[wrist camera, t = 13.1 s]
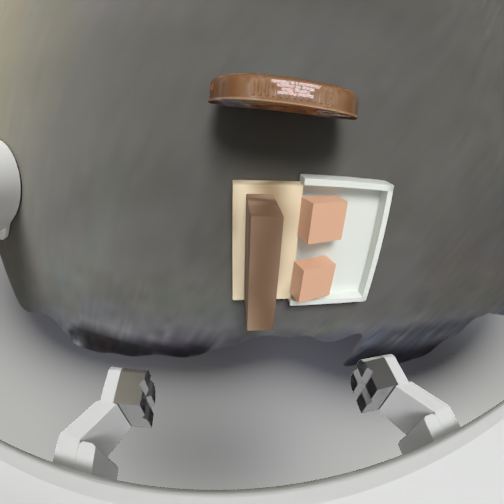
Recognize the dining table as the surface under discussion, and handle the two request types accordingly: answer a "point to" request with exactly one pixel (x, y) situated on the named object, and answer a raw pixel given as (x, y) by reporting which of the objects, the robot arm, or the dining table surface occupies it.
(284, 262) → the board
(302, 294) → the tile
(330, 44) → the dining table surface
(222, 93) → the tin
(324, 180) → the tray
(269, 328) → the tall tan block
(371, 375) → the robot arm
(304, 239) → the tile
